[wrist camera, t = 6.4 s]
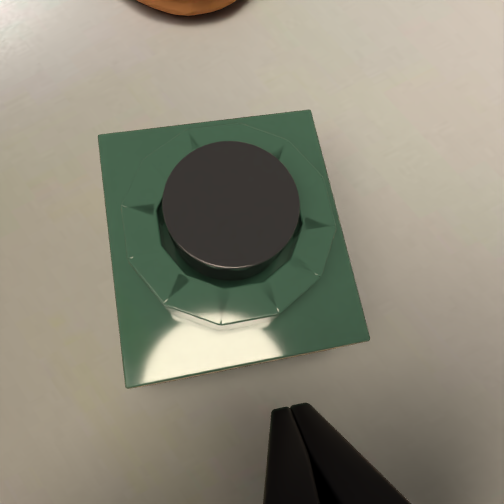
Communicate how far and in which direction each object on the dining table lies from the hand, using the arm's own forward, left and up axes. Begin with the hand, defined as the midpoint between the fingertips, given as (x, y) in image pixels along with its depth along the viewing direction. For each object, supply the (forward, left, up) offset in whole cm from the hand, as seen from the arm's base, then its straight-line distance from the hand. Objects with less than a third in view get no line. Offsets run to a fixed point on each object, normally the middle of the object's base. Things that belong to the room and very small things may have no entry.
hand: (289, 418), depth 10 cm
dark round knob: (+6, -3, -4) cm, 8 cm away
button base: (+6, -3, -12) cm, 14 cm away
